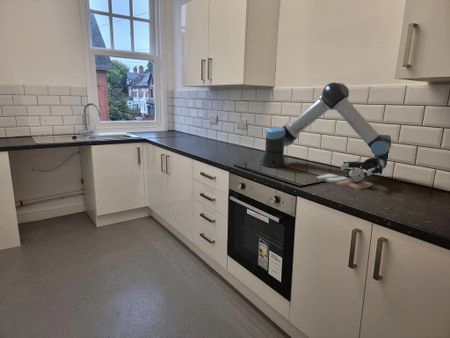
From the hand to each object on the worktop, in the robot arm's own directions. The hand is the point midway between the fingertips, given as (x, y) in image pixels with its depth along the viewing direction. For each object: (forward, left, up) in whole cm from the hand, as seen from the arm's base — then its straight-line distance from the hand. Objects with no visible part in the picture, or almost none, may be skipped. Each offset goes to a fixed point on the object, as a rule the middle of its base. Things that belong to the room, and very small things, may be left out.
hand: (354, 169), depth 151 cm
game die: (0, +2, -7) cm, 7 cm away
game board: (-6, +2, -8) cm, 11 cm away
